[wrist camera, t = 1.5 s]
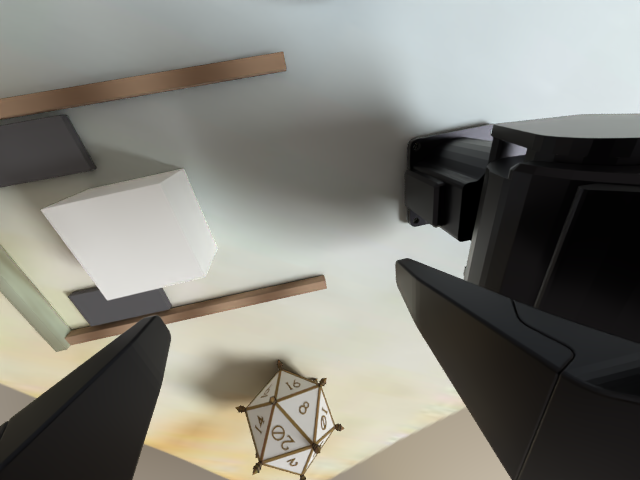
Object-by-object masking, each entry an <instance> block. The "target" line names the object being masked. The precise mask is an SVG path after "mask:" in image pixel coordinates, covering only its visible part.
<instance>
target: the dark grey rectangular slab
mask: <svg viewBox="0 0 640 480" xmlns="http://www.w3.org/2000/svg"><path fill="white" fill-rule="evenodd" d="M94 169H96V167H95V165H94V163H93V162H92V160H91V158H90V156H89V154H88V153H87V151H86V149H85V147H84V145H83V144H82V142H81V140H80V138H79V136H78V135H77V133H76V131H75V129H74V127H73V125H72V124H71V122H70V120H69V118H68V116H67V115H59V116H53V117H47V118H41V119H35V120H30V121H24V122H18V123H12V124H7V125H1V126H0V187H5V186H10V185H16V184H21V183H26V182H32V181H37V180H42V179H48V178H53V177H59V176H64V175H69V174H75V173H80V172H86V171H91V170H94ZM68 297H69V298H70V300H71V301H72V302H73V304H74V305H75V306H76V307H77V309H78V310H79V311H80V313H81V314H82V315H83V316H84V318H85V319H86V320H87V322H88V323H89V324H90V325H91V327H92V326H96V325H101V324H105V323H110V322H114V321H119V320H123V319H128V318H133V317H137V316H142V315H146V314H151V313H155V312H160V311H165V310H169V309H170V308H171V306H172V305H171V303H170V301H169V299H168V297H167V296H166V294H165V292H164V290H163V288H158V289H154V290H150V291H146V292H141V293H137V294H133V295H129V296H124V297H120V298H116V299H112V300H108V301H107V299H106V298H105V297H104V295H103V294H102V293H101V291H100V290H99V289H98V287H96V288H91V289H86V290H82V291H77V292H73V293H72V294H70V295H69V296H68Z"/></svg>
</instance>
